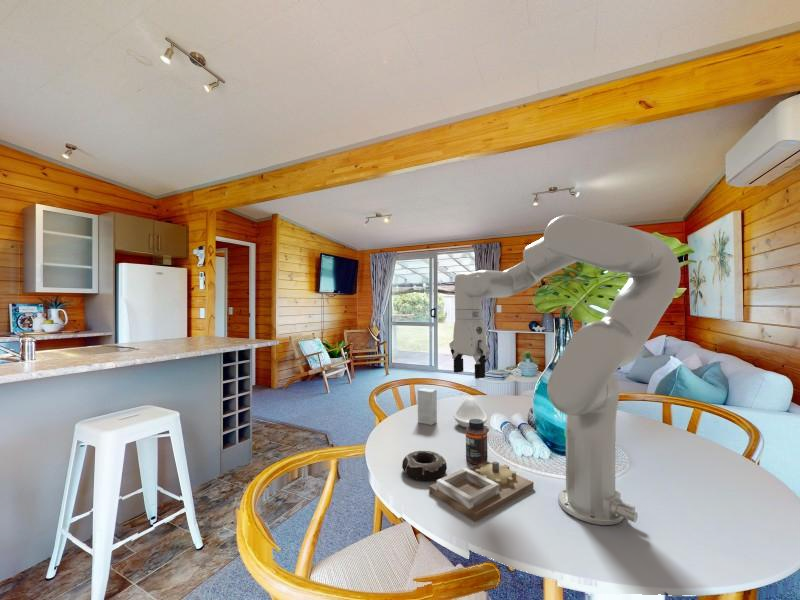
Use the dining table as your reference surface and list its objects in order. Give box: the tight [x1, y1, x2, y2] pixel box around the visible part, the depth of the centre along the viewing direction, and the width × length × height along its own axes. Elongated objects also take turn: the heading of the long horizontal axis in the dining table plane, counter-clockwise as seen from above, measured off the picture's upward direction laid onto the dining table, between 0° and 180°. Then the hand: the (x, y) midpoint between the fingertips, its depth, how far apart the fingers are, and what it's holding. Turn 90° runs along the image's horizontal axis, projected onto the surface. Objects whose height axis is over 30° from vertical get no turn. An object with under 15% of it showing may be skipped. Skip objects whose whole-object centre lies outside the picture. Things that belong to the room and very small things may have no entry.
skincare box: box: [417, 387, 438, 426], centre depth 132 cm, size 6×4×12 cm
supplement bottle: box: [465, 419, 488, 466], centre depth 100 cm, size 6×6×11 cm
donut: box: [401, 450, 447, 482], centre depth 94 cm, size 12×12×4 cm
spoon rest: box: [453, 396, 488, 429], centre depth 134 cm, size 24×12×7 cm, turn 172°
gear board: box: [428, 460, 534, 523], centre depth 85 cm, size 14×21×5 cm, turn 127°
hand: (468, 374), depth 103 cm, fingers open, 9 cm apart
